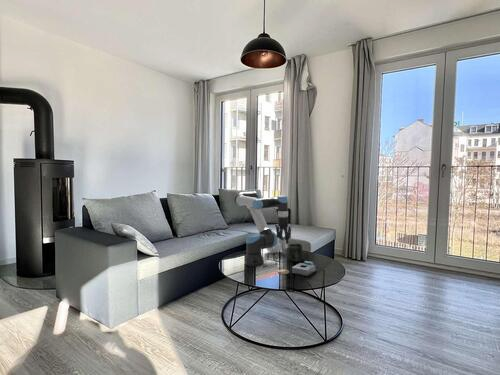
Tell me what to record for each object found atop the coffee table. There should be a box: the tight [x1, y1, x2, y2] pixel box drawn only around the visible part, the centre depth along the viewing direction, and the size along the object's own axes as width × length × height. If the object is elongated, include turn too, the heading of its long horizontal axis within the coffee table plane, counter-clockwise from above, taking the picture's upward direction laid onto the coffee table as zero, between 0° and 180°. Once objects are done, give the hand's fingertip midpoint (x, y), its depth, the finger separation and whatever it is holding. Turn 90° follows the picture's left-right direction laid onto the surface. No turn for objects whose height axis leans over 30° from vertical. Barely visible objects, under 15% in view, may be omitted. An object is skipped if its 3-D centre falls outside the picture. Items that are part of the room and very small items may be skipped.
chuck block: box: [291, 260, 316, 277], centre depth 207 cm, size 12×15×5 cm
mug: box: [285, 243, 303, 262], centre depth 235 cm, size 11×15×12 cm
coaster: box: [277, 269, 290, 275], centre depth 207 cm, size 8×8×1 cm
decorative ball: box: [265, 230, 282, 254], centre depth 258 cm, size 20×17×20 cm
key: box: [281, 235, 287, 255], centre depth 216 cm, size 3×6×13 cm, turn 142°
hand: (284, 247), depth 216 cm, fingers closed on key, 3 cm apart
